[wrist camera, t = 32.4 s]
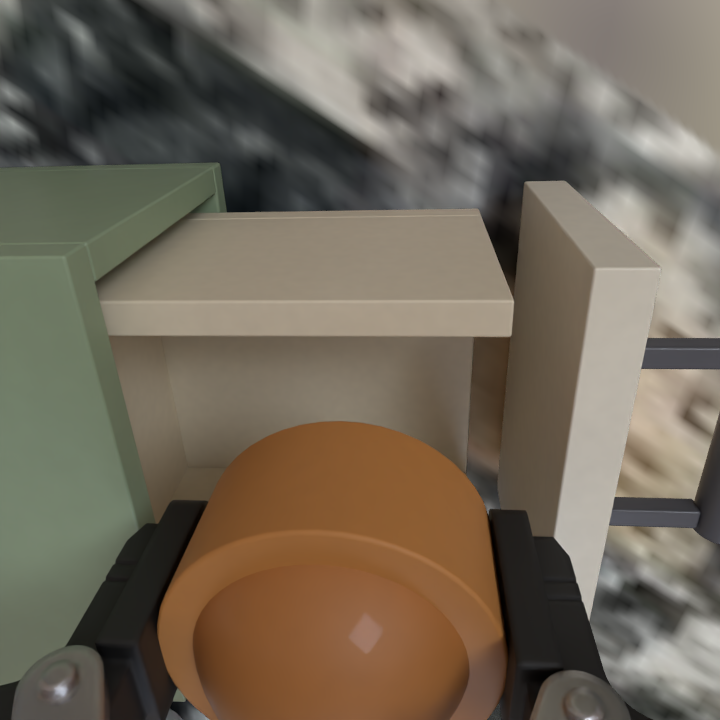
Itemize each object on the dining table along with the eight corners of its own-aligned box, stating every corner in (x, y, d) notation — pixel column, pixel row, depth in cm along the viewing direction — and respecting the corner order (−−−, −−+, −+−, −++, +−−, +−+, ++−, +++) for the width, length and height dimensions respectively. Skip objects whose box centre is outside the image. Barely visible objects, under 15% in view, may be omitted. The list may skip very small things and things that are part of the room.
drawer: (744, 177, 17) (965, 264, 10) (664, 490, 22) (775, 688, 15) (122, 188, 19) (-48, 272, 12) (184, 479, 24) (91, 653, 17)
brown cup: (238, 601, 15) (158, 844, 11) (199, 397, 12) (67, 607, 8) (480, 614, 14) (506, 876, 10) (496, 402, 12) (545, 631, 7)
